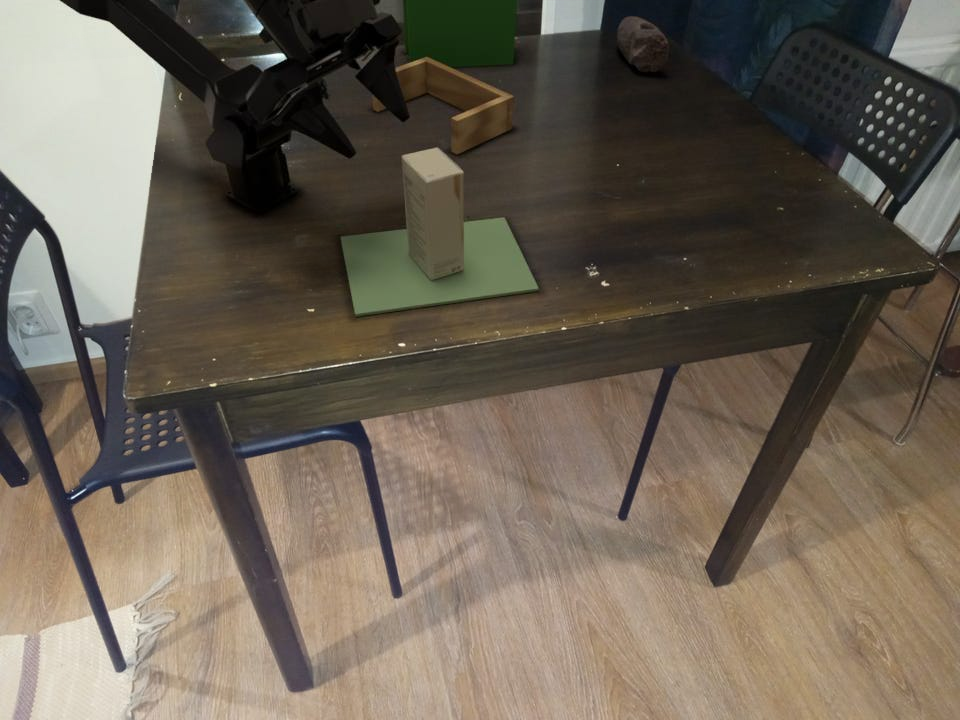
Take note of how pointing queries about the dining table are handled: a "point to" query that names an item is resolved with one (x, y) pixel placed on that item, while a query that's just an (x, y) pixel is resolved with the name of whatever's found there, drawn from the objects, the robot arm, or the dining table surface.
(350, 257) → the mat
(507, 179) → the dining table surface
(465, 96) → the frame
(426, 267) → the cosmetic box
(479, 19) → the hardback book
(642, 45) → the perforated stone tool
